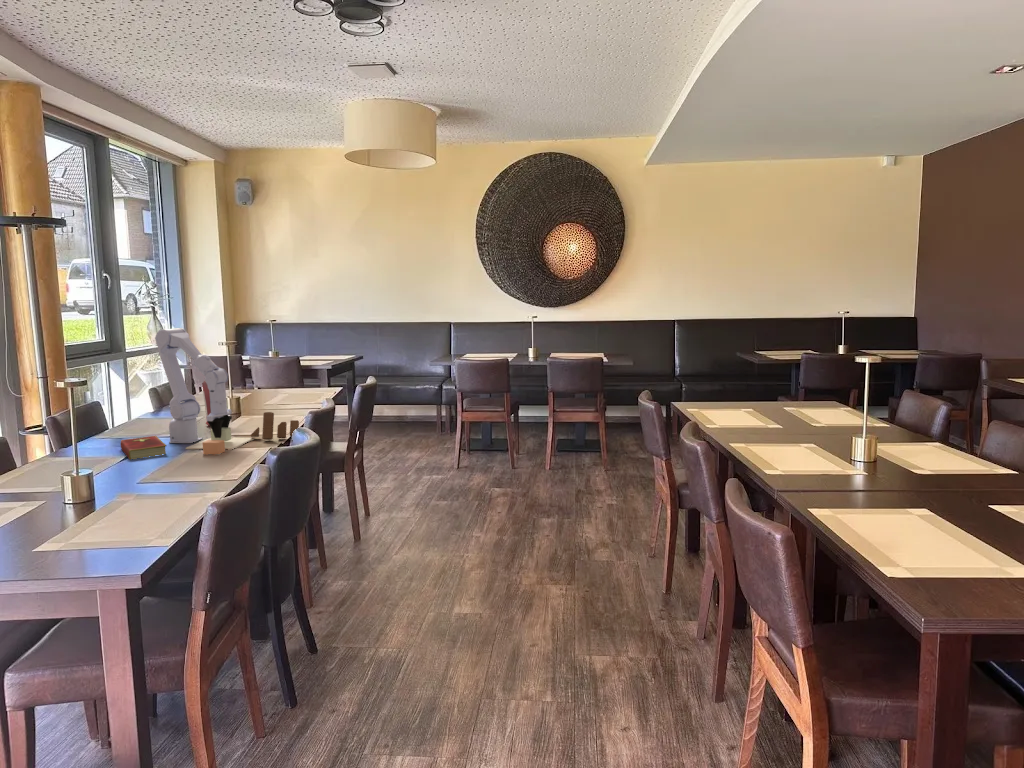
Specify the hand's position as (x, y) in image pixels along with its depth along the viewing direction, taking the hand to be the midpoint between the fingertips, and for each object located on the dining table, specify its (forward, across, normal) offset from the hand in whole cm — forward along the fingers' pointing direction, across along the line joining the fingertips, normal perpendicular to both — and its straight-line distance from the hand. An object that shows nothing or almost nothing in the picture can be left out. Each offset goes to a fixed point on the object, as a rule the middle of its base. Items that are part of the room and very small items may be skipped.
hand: (220, 436), depth 263 cm
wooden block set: (+3, +9, -17) cm, 19 cm away
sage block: (+1, 0, 0) cm, 1 cm away
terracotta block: (+3, -14, -5) cm, 15 cm away
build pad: (+3, 0, 0) cm, 3 cm away
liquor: (+3, +34, +22) cm, 41 cm away
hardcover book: (+4, -14, +22) cm, 27 cm away
